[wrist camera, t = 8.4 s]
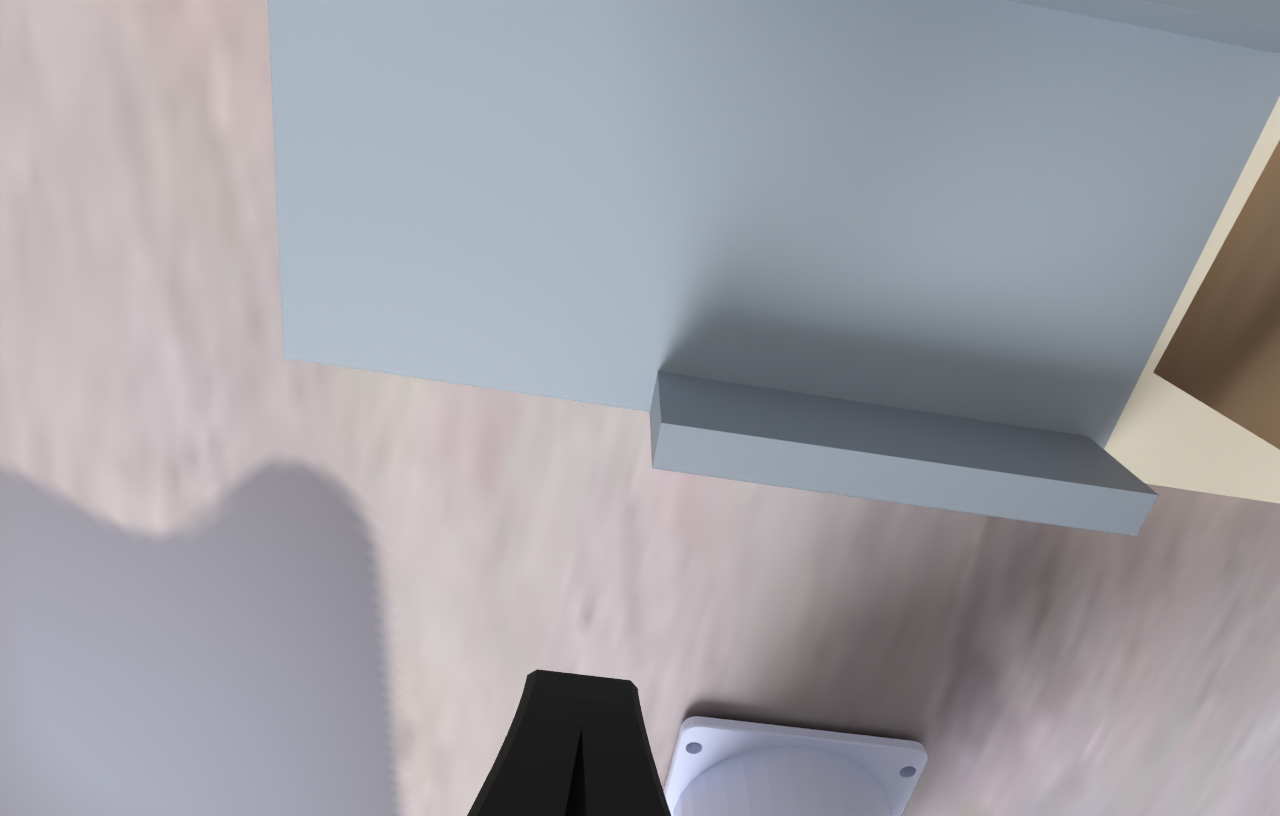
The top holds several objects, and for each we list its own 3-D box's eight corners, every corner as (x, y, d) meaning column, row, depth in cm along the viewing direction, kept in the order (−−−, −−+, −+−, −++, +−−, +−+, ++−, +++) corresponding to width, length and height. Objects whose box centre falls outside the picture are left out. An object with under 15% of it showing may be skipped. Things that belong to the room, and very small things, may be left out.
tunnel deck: (1594, 518, 20) (1833, 634, 16) (319, 327, 18) (225, 408, 14) (1921, 140, 16) (2357, 168, 12) (308, -187, 13) (166, -291, 9)
